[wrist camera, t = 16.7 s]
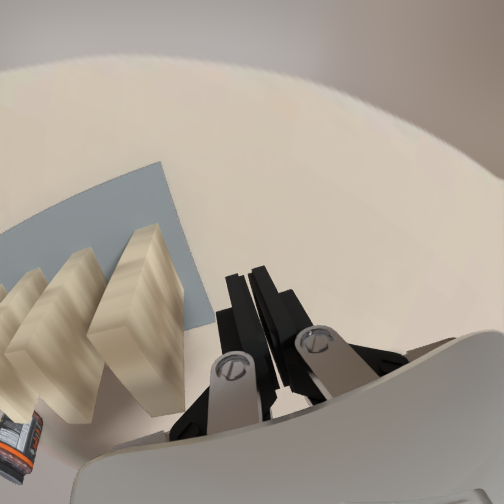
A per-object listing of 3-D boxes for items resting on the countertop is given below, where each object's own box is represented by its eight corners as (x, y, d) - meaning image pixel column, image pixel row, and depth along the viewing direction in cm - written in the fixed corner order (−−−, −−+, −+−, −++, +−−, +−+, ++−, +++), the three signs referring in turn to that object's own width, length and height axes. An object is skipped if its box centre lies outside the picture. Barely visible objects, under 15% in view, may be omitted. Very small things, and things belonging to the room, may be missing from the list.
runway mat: (214, 314, 22) (215, 321, 21) (11, 361, 20) (8, 367, 19) (160, 161, 16) (158, 163, 15) (-48, 266, 15) (-53, 271, 14)
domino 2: (121, 307, 19) (91, 423, 10) (103, 312, 19) (68, 424, 10) (90, 246, 17) (24, 349, 8) (72, 253, 16) (3, 353, 7)
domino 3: (183, 288, 19) (185, 411, 10) (162, 295, 19) (151, 417, 10) (157, 222, 17) (125, 325, 8) (134, 230, 17) (86, 335, 8)
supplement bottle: (44, 429, 25) (32, 493, 15) (10, 412, 23) (-8, 473, 13) (43, 411, 24) (25, 483, 14) (5, 392, 22) (-18, 459, 11)
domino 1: (70, 321, 18) (29, 423, 9) (56, 325, 18) (14, 423, 9) (39, 267, 16) (-29, 360, 7) (26, 272, 16) (-41, 361, 7)
